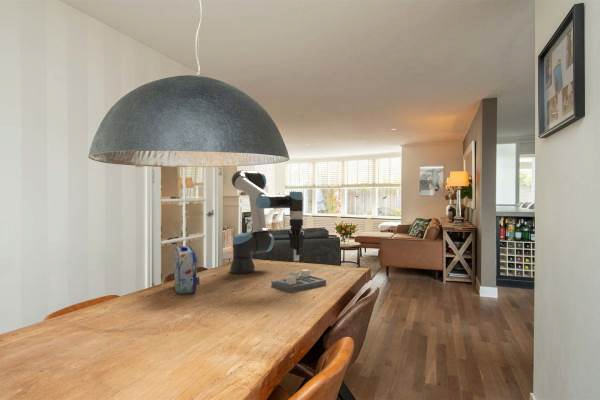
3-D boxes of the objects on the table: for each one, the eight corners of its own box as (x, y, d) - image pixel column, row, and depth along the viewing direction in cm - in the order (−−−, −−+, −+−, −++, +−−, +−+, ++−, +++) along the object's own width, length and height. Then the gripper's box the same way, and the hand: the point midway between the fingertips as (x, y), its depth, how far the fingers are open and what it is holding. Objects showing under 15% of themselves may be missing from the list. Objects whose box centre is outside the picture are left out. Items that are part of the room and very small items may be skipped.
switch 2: (300, 276, 191) (300, 270, 190) (306, 275, 193) (306, 269, 193) (304, 277, 188) (304, 271, 188) (309, 276, 191) (310, 270, 191)
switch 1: (286, 283, 175) (286, 276, 175) (292, 282, 177) (292, 275, 177) (290, 284, 172) (290, 277, 172) (296, 283, 175) (296, 276, 175)
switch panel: (271, 286, 181) (271, 280, 181) (305, 279, 196) (305, 273, 196) (291, 292, 169) (291, 286, 169) (326, 284, 184) (326, 278, 184)
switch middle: (289, 278, 185) (289, 272, 185) (295, 277, 188) (295, 271, 188) (293, 279, 183) (293, 273, 183) (298, 278, 186) (298, 272, 186)
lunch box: (200, 295, 162) (201, 248, 162) (177, 298, 157) (177, 249, 157) (192, 282, 187) (192, 241, 187) (171, 284, 182) (171, 242, 182)
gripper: (283, 218, 199) (284, 260, 199) (298, 219, 189) (298, 262, 189) (293, 218, 204) (294, 258, 204) (309, 218, 194) (309, 261, 194)
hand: (296, 260), depth 196 cm, fingers closed
